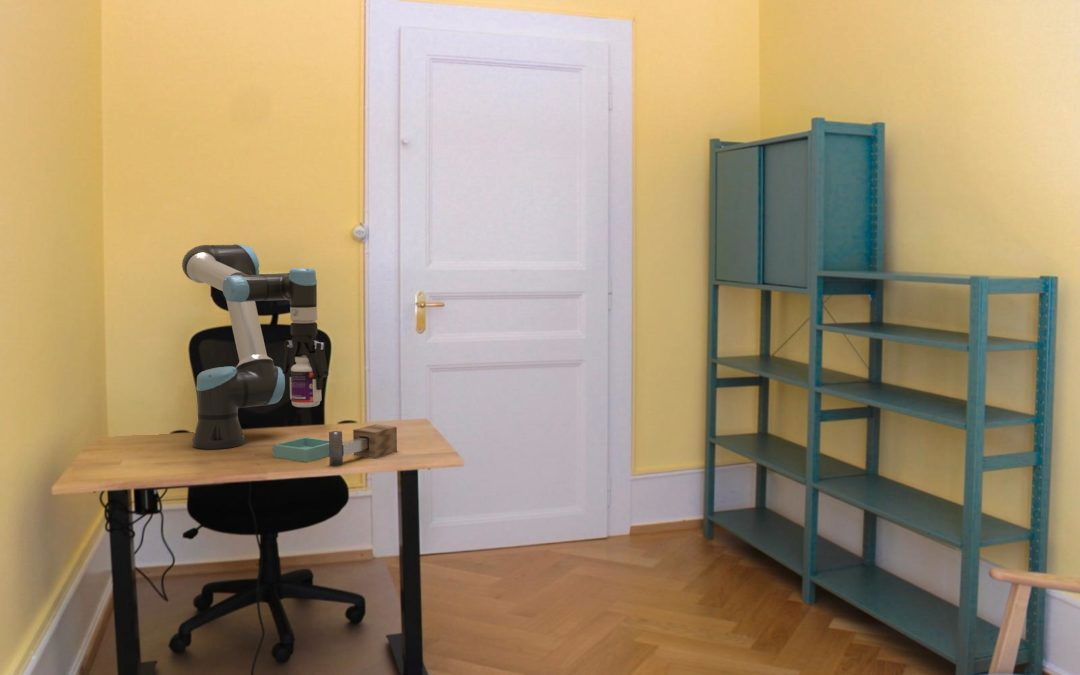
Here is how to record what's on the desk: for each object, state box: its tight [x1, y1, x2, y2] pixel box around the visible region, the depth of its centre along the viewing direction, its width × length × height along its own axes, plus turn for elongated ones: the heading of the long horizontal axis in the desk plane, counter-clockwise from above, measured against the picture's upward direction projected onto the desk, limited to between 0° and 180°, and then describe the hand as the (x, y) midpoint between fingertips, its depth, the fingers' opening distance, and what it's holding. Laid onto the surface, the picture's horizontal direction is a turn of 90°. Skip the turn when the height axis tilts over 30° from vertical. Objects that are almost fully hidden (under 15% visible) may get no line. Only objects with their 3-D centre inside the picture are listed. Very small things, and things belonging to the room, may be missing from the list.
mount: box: [352, 423, 398, 459], centre depth 281 cm, size 10×8×8 cm
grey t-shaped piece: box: [328, 430, 369, 466], centre depth 272 cm, size 17×4×9 cm, turn 150°
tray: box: [272, 436, 329, 463], centre depth 279 cm, size 13×13×4 cm
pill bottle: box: [291, 355, 321, 408], centre depth 278 cm, size 8×8×14 cm
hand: (305, 399), depth 278 cm, fingers closed on pill bottle, 8 cm apart
